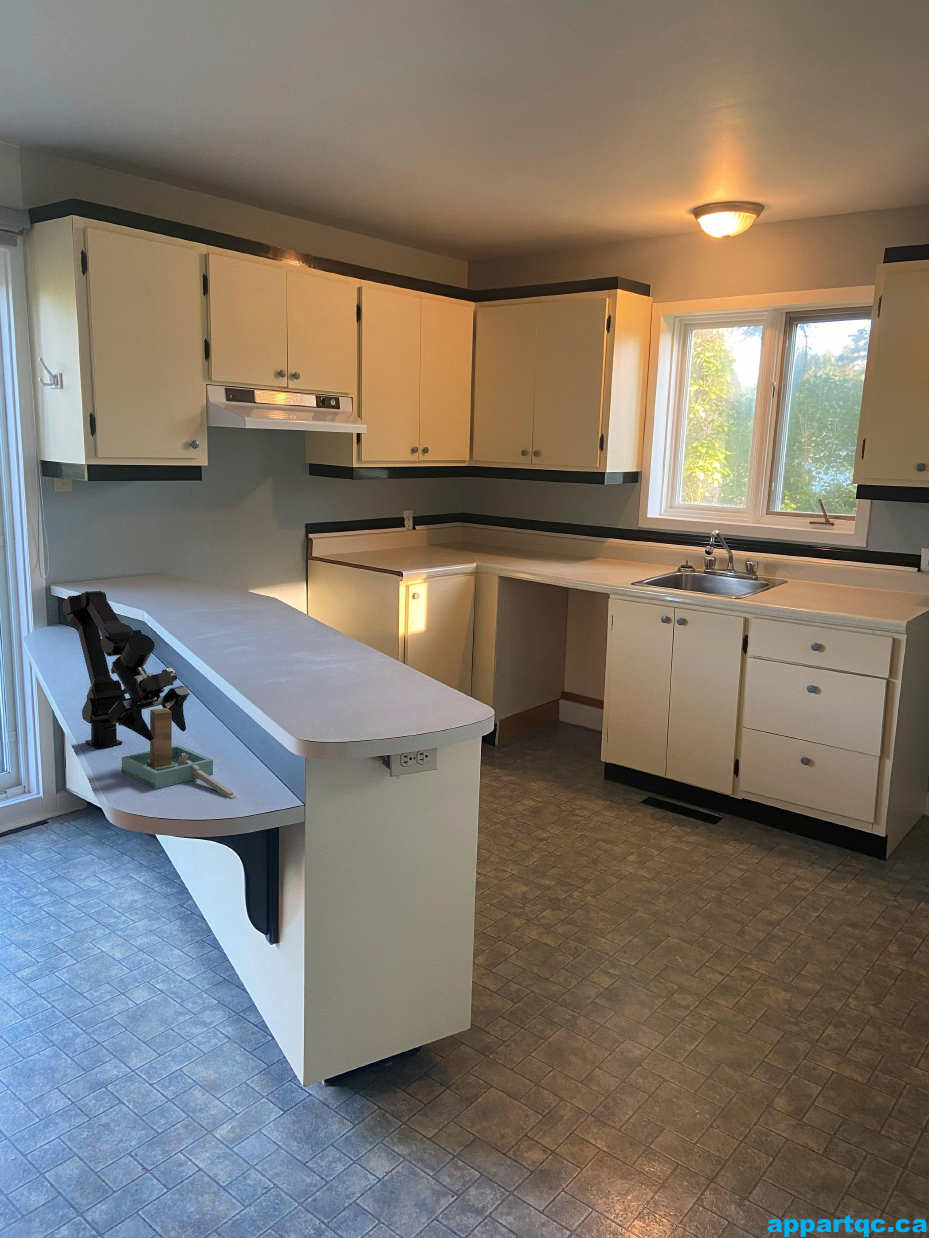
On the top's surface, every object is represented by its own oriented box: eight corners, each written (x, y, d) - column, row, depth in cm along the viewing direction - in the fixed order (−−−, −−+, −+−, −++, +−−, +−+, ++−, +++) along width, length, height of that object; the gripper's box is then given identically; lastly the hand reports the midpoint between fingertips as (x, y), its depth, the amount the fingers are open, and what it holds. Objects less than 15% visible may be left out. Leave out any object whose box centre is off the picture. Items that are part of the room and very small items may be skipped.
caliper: (177, 779, 198) (177, 752, 197) (182, 778, 199) (181, 751, 198) (232, 801, 185) (232, 772, 184) (237, 799, 186) (236, 770, 185)
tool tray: (121, 772, 197) (121, 757, 196) (177, 759, 207) (177, 744, 207) (156, 789, 188) (156, 773, 187) (212, 774, 198) (213, 759, 198)
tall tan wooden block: (146, 766, 198) (146, 708, 196) (166, 763, 201) (166, 706, 198) (155, 775, 193) (155, 715, 191) (175, 772, 196) (175, 713, 193)
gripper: (117, 664, 188) (152, 724, 184) (184, 651, 204) (218, 706, 200) (92, 693, 193) (127, 752, 189) (160, 678, 209) (193, 733, 205)
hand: (168, 735), depth 196 cm, fingers open, 9 cm apart
